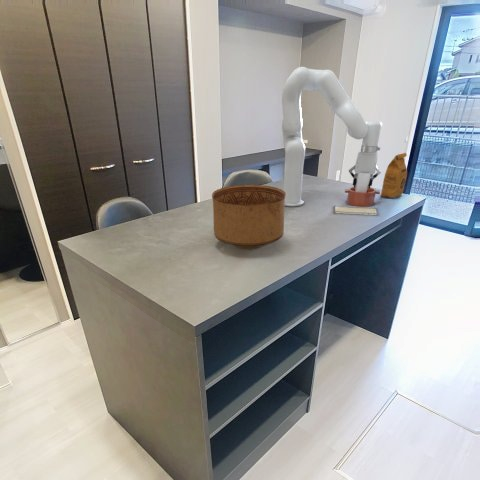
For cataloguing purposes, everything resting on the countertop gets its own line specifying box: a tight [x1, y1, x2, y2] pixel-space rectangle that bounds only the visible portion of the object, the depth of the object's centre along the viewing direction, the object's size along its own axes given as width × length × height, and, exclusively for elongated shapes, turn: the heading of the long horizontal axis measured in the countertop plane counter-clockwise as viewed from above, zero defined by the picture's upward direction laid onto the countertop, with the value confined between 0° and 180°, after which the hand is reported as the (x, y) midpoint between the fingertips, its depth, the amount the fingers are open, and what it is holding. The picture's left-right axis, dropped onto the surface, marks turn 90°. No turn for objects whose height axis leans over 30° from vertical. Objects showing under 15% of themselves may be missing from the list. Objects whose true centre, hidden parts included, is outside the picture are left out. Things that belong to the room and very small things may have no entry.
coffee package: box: [380, 152, 408, 199], centre depth 193 cm, size 10×12×22 cm
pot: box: [211, 184, 286, 250], centre depth 138 cm, size 28×28×20 cm
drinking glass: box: [355, 173, 371, 193], centre depth 185 cm, size 7×7×15 cm
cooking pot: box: [344, 186, 381, 207], centre depth 187 cm, size 18×14×7 cm
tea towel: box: [334, 205, 378, 216], centre depth 178 cm, size 20×12×1 cm, turn 77°
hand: (361, 186), depth 184 cm, fingers closed on drinking glass, 6 cm apart
